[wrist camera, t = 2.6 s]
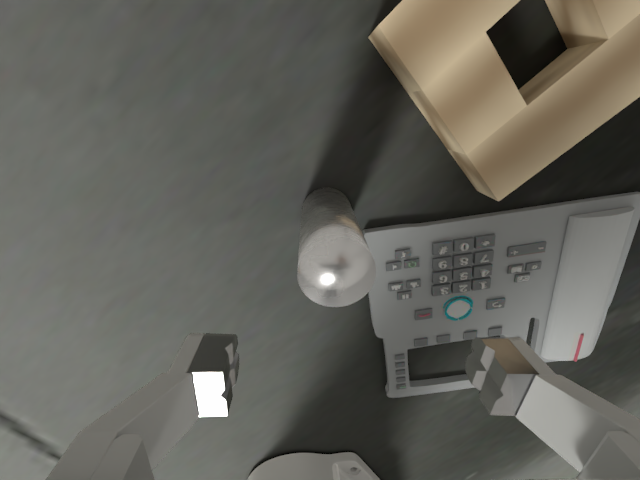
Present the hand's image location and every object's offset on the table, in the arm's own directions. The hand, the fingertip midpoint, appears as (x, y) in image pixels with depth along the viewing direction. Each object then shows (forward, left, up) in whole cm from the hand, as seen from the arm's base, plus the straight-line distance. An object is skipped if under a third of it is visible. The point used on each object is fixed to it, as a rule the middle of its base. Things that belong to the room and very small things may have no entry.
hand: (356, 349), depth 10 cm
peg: (0, 0, -15) cm, 15 cm away
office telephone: (-18, -5, -16) cm, 24 cm away
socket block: (0, -17, -15) cm, 23 cm away
